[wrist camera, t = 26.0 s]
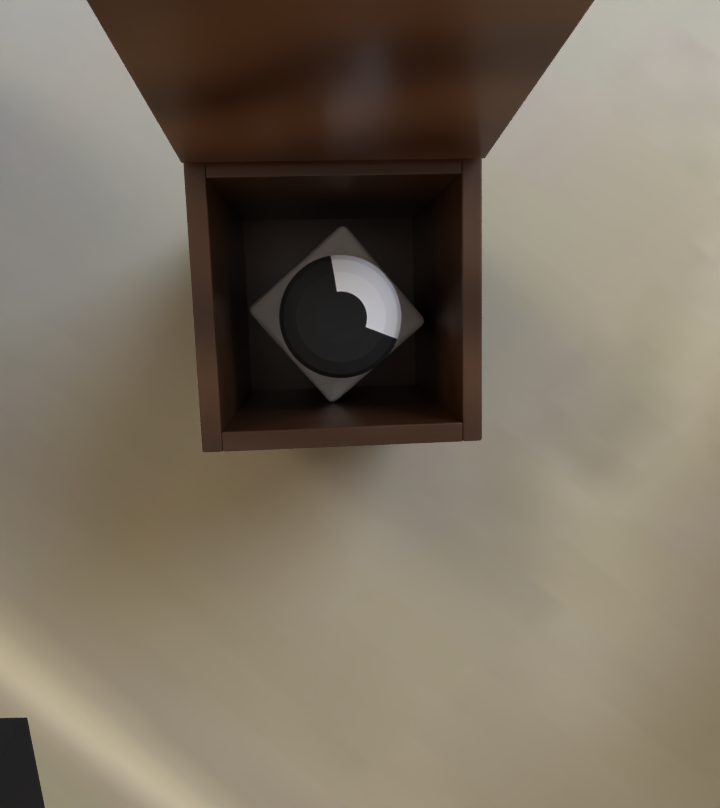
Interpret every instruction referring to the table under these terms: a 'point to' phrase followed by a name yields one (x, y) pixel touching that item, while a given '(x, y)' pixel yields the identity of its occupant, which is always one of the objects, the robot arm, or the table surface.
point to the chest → (288, 245)
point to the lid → (335, 73)
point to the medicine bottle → (337, 314)
